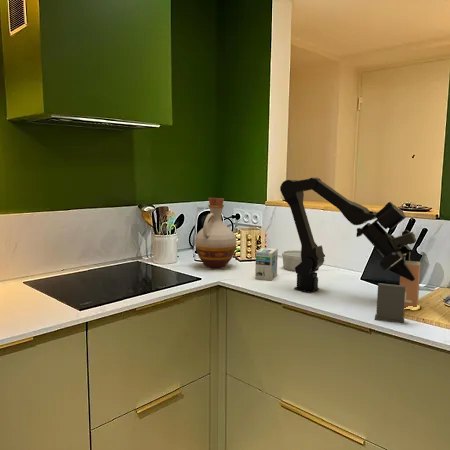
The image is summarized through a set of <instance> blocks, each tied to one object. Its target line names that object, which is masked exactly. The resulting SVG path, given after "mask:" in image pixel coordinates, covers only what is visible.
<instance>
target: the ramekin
mask: <svg viewBox="0 0 450 450" xmlns="http://www.w3.org/2000/svg"><path fill="white" fill-rule="evenodd" d="M281 256H282V266H283V268H284V270H287V271H291V272H296V271H295V267H296V266H297V265H299V264H300V263H301V262H302V261H301V249H300V250H297V249H296V250H295V249H292V250H290V249H289V250H283V251H282V252H281Z"/></svg>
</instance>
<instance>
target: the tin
mask: <svg viewBox="0 0 450 450" xmlns="http://www.w3.org/2000/svg"><path fill="white" fill-rule="evenodd" d="M405 264H406V266H407V267H408V269H409V270H410V272H411V273H412V275H413V276H414V278H415V280H413V281H411V280H409V279H406V278H404V277H402V276H400V275H399V285H402V286H405V300H404V307H408V306H413V307H417V304H418V305H419V293H420V280H421V278H420V277H421V264H422V262H421V261H414V260H413V261H412V260H410V261H405Z"/></svg>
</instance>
